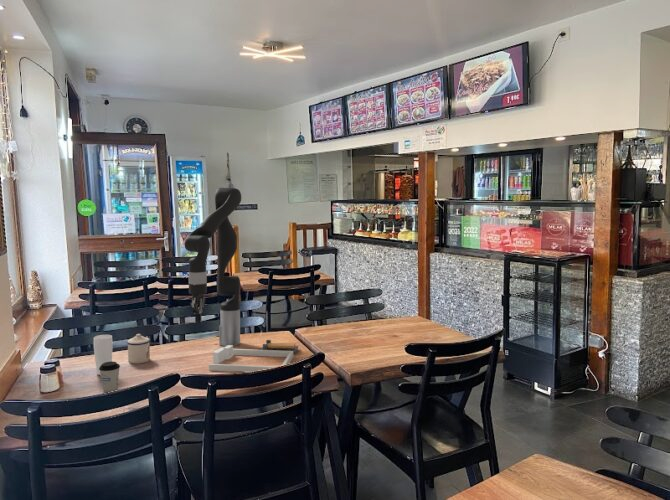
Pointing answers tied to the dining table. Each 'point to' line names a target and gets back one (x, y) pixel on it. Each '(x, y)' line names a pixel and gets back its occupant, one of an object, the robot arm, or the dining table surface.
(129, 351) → the teacup with lid
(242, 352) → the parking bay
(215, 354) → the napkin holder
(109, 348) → the drinking glass
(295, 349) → the pedal base
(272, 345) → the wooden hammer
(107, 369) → the coffee cup
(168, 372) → the dining table surface
